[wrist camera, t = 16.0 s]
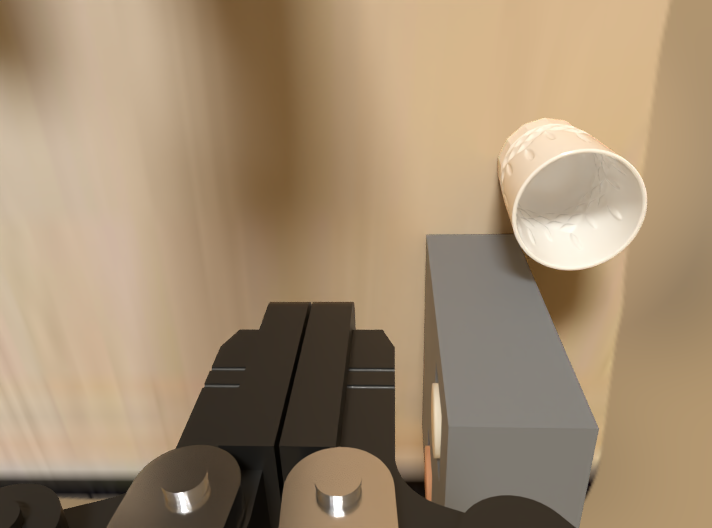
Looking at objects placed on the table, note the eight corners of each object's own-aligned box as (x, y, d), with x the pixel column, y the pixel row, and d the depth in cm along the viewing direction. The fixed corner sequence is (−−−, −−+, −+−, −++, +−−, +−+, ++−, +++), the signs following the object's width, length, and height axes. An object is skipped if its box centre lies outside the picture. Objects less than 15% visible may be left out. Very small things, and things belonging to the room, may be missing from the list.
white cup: (502, 222, 47) (527, 285, 38) (477, 129, 44) (498, 173, 35) (604, 193, 46) (655, 251, 37) (586, 94, 42) (637, 130, 33)
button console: (422, 424, 57) (436, 668, 38) (426, 234, 48) (448, 426, 29) (496, 425, 57) (549, 673, 37) (514, 234, 48) (598, 428, 28)
